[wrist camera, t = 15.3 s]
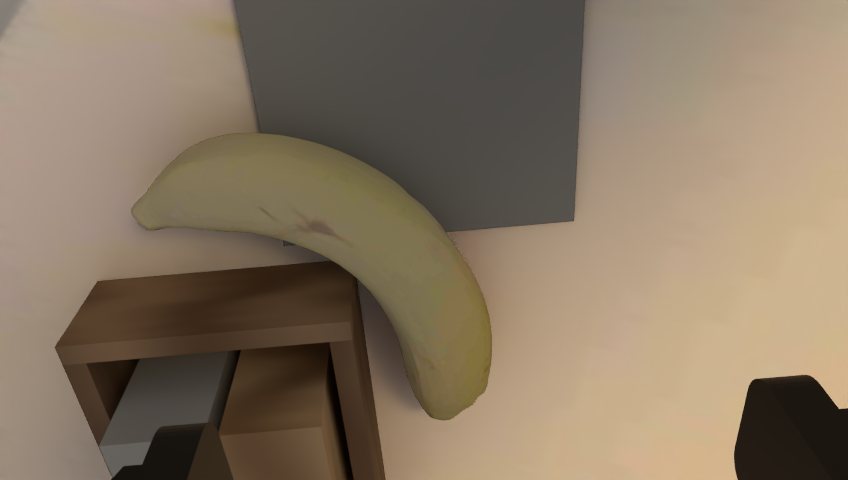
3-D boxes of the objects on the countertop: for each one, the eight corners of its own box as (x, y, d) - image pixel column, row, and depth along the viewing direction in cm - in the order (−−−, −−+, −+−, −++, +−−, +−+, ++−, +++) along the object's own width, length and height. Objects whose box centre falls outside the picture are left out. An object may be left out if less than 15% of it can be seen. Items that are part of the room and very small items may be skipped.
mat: (584, -68, 21) (588, -67, 21) (571, 216, 26) (574, 221, 26) (229, -39, 21) (226, -37, 21) (284, 240, 26) (283, 245, 26)
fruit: (572, 382, 25) (569, 317, 27) (238, 93, 19) (274, 45, 22) (431, 448, 28) (441, 385, 31) (117, 222, 23) (160, 169, 25)
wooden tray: (353, 259, 27) (349, 321, 23) (389, 509, 34) (390, 584, 31) (97, 281, 26) (54, 347, 23) (189, 527, 34) (168, 604, 31)
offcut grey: (235, 327, 28) (203, 436, 23) (275, 476, 33) (254, 595, 28) (150, 335, 28) (98, 446, 23) (202, 483, 33) (168, 603, 27)
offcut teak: (332, 319, 28) (320, 426, 23) (358, 468, 33) (353, 587, 28) (247, 326, 28) (217, 436, 23) (285, 475, 33) (266, 594, 28)
